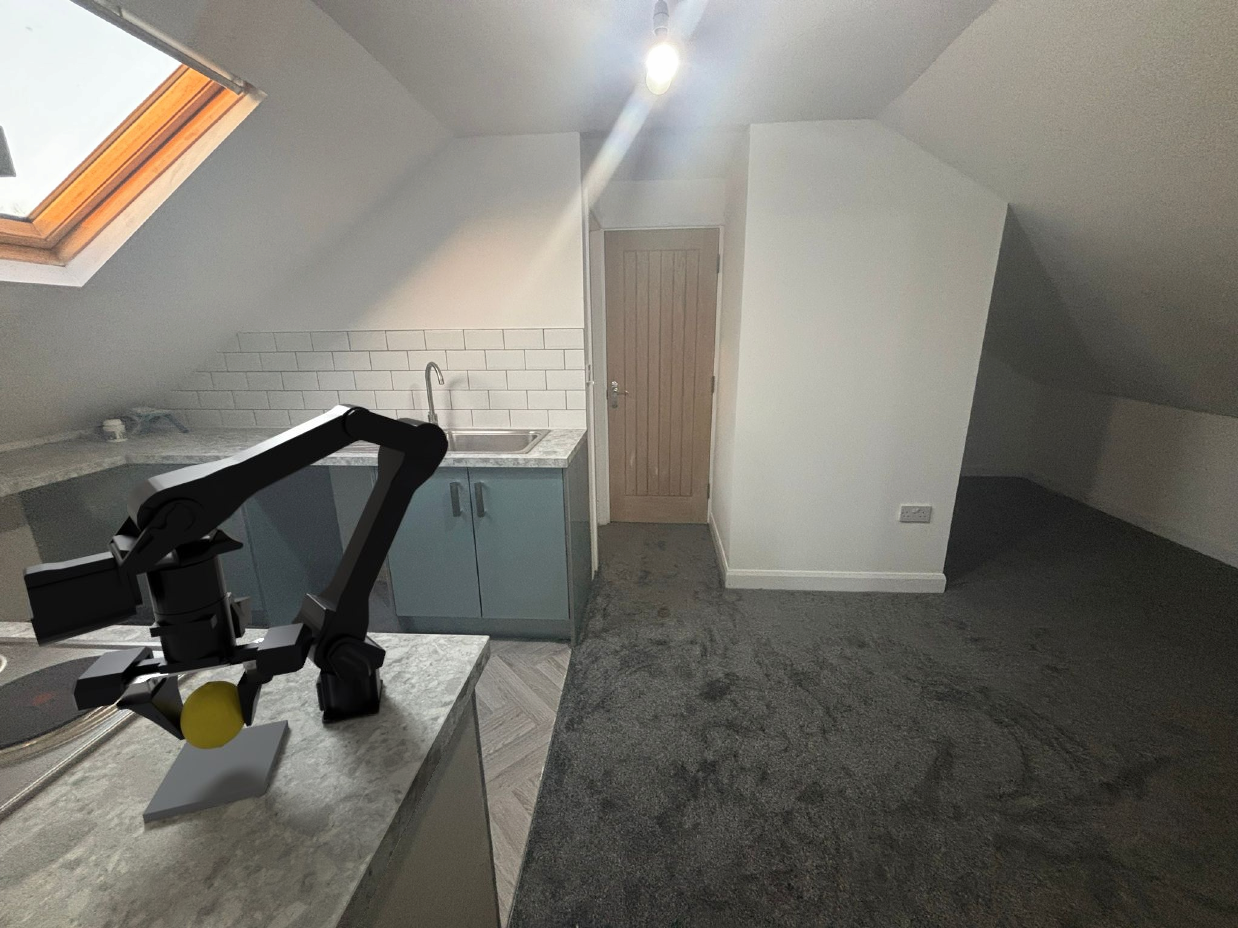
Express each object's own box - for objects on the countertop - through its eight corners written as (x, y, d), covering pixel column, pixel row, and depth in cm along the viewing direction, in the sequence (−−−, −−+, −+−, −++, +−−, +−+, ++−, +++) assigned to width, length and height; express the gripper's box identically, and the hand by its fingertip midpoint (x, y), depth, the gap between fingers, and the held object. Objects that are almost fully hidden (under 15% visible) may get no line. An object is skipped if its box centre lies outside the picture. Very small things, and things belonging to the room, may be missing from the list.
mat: (288, 726, 62) (287, 719, 62) (264, 793, 53) (262, 786, 52) (188, 746, 58) (187, 739, 58) (144, 822, 49) (142, 814, 49)
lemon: (218, 771, 52) (204, 705, 50) (174, 761, 53) (159, 696, 51) (264, 731, 57) (253, 670, 55) (224, 723, 58) (212, 662, 56)
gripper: (313, 556, 61) (329, 667, 65) (118, 577, 55) (148, 700, 59) (291, 600, 51) (311, 729, 55) (47, 633, 45) (89, 776, 48)
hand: (218, 730), depth 54 cm, fingers closed on lemon, 5 cm apart
